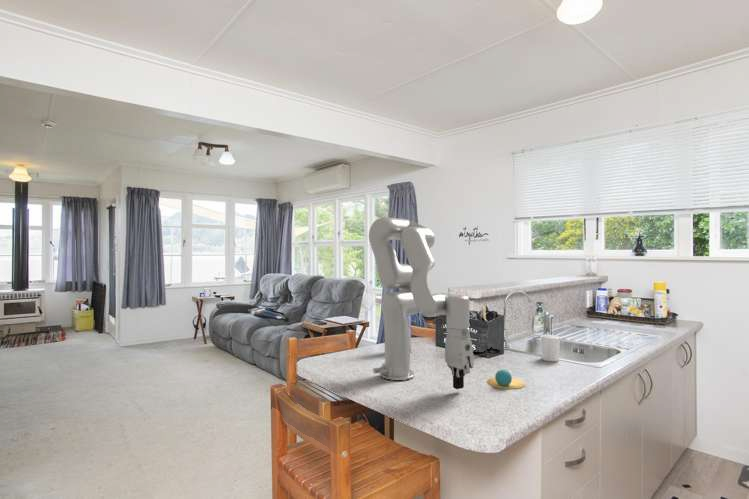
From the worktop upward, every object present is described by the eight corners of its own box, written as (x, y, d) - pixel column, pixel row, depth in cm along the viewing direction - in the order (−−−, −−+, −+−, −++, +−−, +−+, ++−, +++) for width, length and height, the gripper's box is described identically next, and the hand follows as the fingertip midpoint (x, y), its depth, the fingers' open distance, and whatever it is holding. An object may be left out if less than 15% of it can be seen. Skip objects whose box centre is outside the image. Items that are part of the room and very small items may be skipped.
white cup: (548, 362, 173) (548, 338, 174) (536, 357, 181) (536, 335, 181) (564, 361, 176) (564, 337, 176) (551, 356, 183) (551, 333, 183)
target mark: (505, 391, 138) (505, 390, 138) (479, 380, 150) (479, 380, 150) (533, 385, 144) (533, 384, 144) (506, 375, 156) (506, 375, 156)
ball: (500, 378, 140) (512, 370, 142) (489, 373, 145) (501, 364, 147) (505, 391, 141) (517, 382, 143) (494, 385, 146) (506, 377, 148)
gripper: (482, 335, 133) (482, 393, 133) (453, 328, 146) (453, 380, 146) (463, 338, 129) (463, 396, 129) (435, 330, 143) (436, 383, 143)
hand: (458, 387), depth 138 cm, fingers closed
